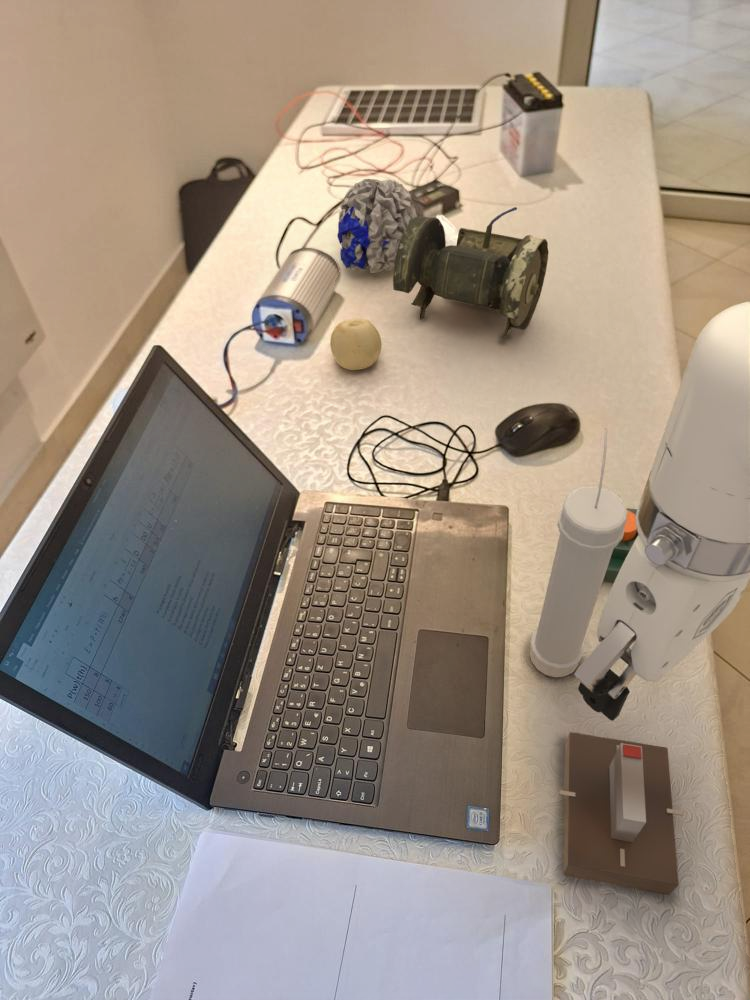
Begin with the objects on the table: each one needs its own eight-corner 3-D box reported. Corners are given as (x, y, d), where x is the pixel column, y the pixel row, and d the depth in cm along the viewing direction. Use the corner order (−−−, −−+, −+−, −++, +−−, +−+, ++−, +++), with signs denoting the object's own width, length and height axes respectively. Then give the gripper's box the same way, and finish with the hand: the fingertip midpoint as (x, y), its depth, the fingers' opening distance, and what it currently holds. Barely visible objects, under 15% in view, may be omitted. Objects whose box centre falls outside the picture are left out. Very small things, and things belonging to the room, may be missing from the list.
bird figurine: (422, 251, 139) (444, 263, 131) (426, 213, 136) (448, 223, 128) (446, 250, 141) (469, 262, 133) (449, 213, 137) (473, 223, 129)
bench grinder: (509, 358, 108) (550, 217, 100) (377, 317, 115) (405, 182, 106) (538, 341, 125) (575, 220, 117) (422, 307, 132) (449, 190, 124)
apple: (346, 383, 110) (323, 338, 107) (342, 372, 118) (320, 329, 115) (392, 359, 110) (370, 313, 107) (385, 349, 117) (364, 306, 114)
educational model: (339, 296, 138) (321, 248, 124) (356, 207, 143) (340, 151, 129) (411, 300, 135) (401, 250, 121) (425, 209, 140) (417, 152, 126)
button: (636, 543, 83) (640, 534, 82) (604, 540, 84) (607, 530, 83) (635, 520, 86) (638, 510, 85) (603, 516, 86) (606, 507, 85)
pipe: (527, 677, 77) (574, 480, 54) (527, 626, 81) (571, 425, 59) (581, 682, 76) (651, 486, 54) (578, 631, 80) (641, 429, 58)
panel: (679, 897, 62) (690, 887, 60) (552, 873, 64) (557, 862, 61) (668, 761, 70) (677, 748, 68) (555, 743, 72) (560, 729, 69)
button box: (650, 587, 84) (659, 566, 81) (579, 578, 85) (585, 557, 82) (645, 522, 90) (653, 500, 87) (579, 514, 91) (585, 493, 89)
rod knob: (632, 842, 62) (647, 821, 58) (611, 838, 63) (624, 817, 59) (629, 769, 67) (642, 745, 63) (609, 765, 67) (621, 741, 63)
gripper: (672, 643, 36) (604, 777, 48) (851, 477, 43) (751, 633, 55) (556, 552, 40) (522, 698, 53) (737, 414, 47) (668, 572, 59)
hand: (639, 664), depth 54 cm, fingers open, 9 cm apart
